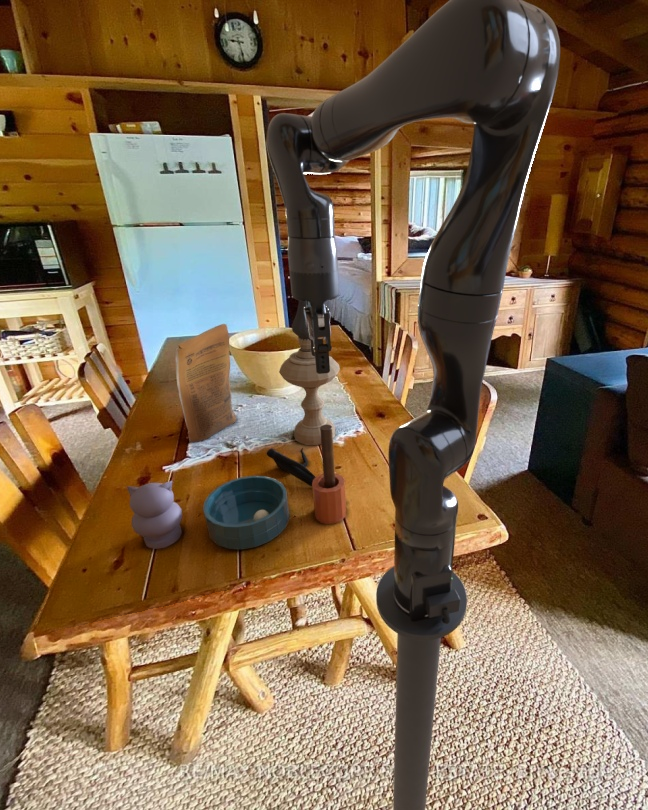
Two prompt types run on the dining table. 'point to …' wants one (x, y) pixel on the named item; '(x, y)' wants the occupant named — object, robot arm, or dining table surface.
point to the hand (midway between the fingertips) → (320, 363)
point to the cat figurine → (155, 514)
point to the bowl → (246, 512)
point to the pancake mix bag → (205, 382)
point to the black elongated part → (292, 466)
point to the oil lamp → (307, 382)
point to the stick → (327, 456)
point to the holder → (329, 500)
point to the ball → (260, 514)
